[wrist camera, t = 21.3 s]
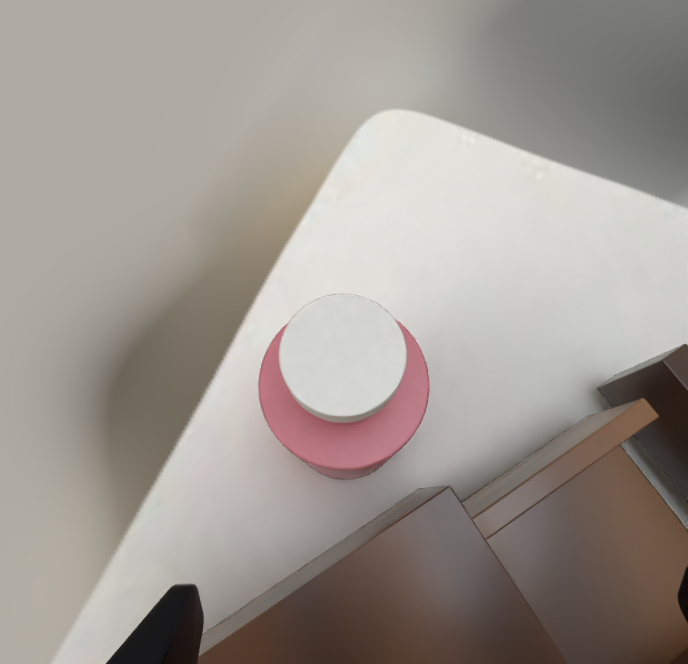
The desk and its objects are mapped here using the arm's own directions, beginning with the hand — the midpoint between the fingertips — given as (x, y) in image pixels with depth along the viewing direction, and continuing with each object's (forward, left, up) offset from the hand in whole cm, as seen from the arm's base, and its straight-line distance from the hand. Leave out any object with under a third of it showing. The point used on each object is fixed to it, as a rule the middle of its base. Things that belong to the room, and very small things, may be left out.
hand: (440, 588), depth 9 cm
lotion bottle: (+1, +5, -12) cm, 13 cm away
